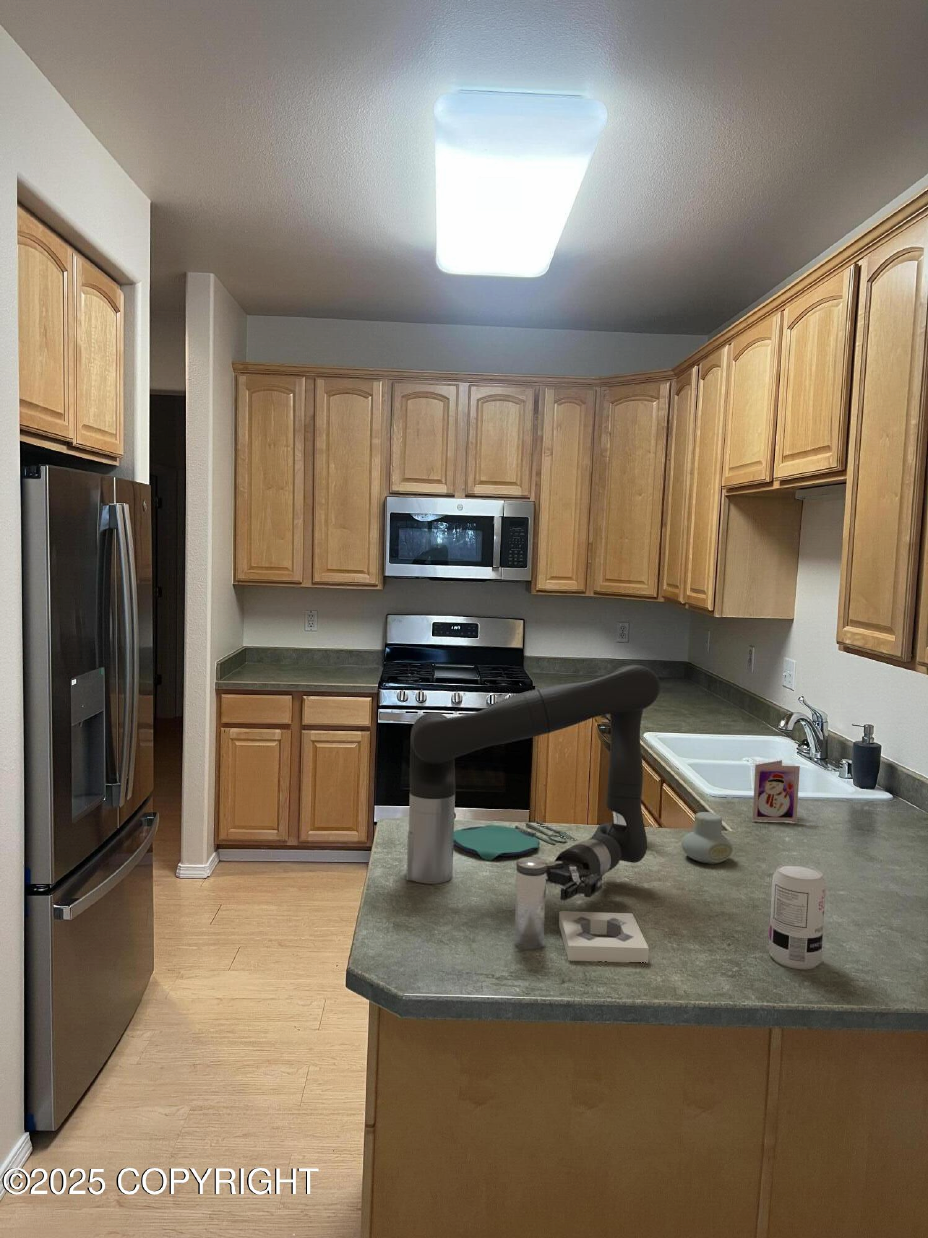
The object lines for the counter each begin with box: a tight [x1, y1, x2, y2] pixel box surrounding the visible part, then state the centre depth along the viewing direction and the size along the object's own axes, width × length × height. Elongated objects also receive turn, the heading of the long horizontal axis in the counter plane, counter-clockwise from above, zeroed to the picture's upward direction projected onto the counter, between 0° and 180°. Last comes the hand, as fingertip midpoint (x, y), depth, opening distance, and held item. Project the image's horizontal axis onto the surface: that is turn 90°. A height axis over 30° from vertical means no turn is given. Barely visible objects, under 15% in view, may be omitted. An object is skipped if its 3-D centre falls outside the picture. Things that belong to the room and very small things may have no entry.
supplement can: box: [768, 863, 827, 970], centre depth 143 cm, size 8×8×15 cm
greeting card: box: [752, 759, 801, 823], centre depth 225 cm, size 11×7×15 cm, turn 90°
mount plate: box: [558, 910, 650, 964], centre depth 148 cm, size 13×14×2 cm
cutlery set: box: [453, 820, 578, 862], centre depth 200 cm, size 20×30×2 cm, turn 124°
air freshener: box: [681, 811, 734, 865], centre depth 192 cm, size 11×8×10 cm
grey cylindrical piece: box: [513, 857, 548, 951], centre depth 146 cm, size 5×5×14 cm
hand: (540, 888), depth 149 cm, fingers open, 8 cm apart
